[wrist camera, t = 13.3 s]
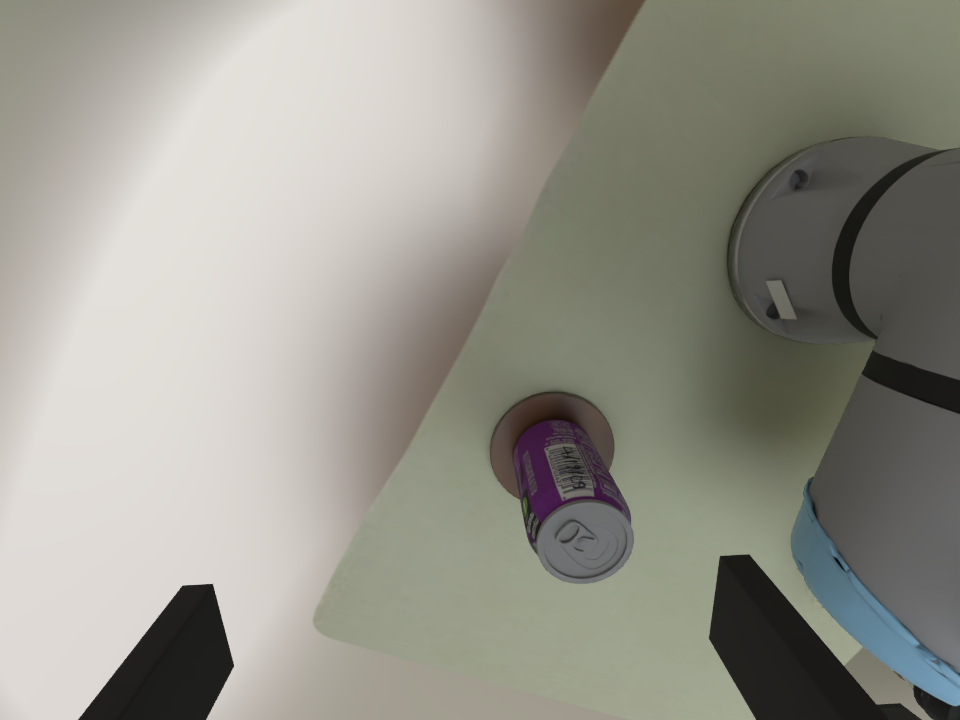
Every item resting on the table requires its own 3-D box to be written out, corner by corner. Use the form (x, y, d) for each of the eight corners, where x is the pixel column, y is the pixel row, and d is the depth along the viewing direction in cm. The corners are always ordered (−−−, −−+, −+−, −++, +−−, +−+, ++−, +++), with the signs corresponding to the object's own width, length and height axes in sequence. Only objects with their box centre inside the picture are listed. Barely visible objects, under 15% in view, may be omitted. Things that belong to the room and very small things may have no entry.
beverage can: (496, 462, 41) (507, 557, 29) (545, 400, 39) (577, 475, 28) (558, 501, 42) (593, 607, 30) (608, 443, 40) (664, 532, 29)
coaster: (616, 390, 40) (619, 393, 39) (608, 501, 43) (610, 505, 42) (489, 393, 39) (490, 395, 39) (490, 504, 43) (490, 508, 42)
